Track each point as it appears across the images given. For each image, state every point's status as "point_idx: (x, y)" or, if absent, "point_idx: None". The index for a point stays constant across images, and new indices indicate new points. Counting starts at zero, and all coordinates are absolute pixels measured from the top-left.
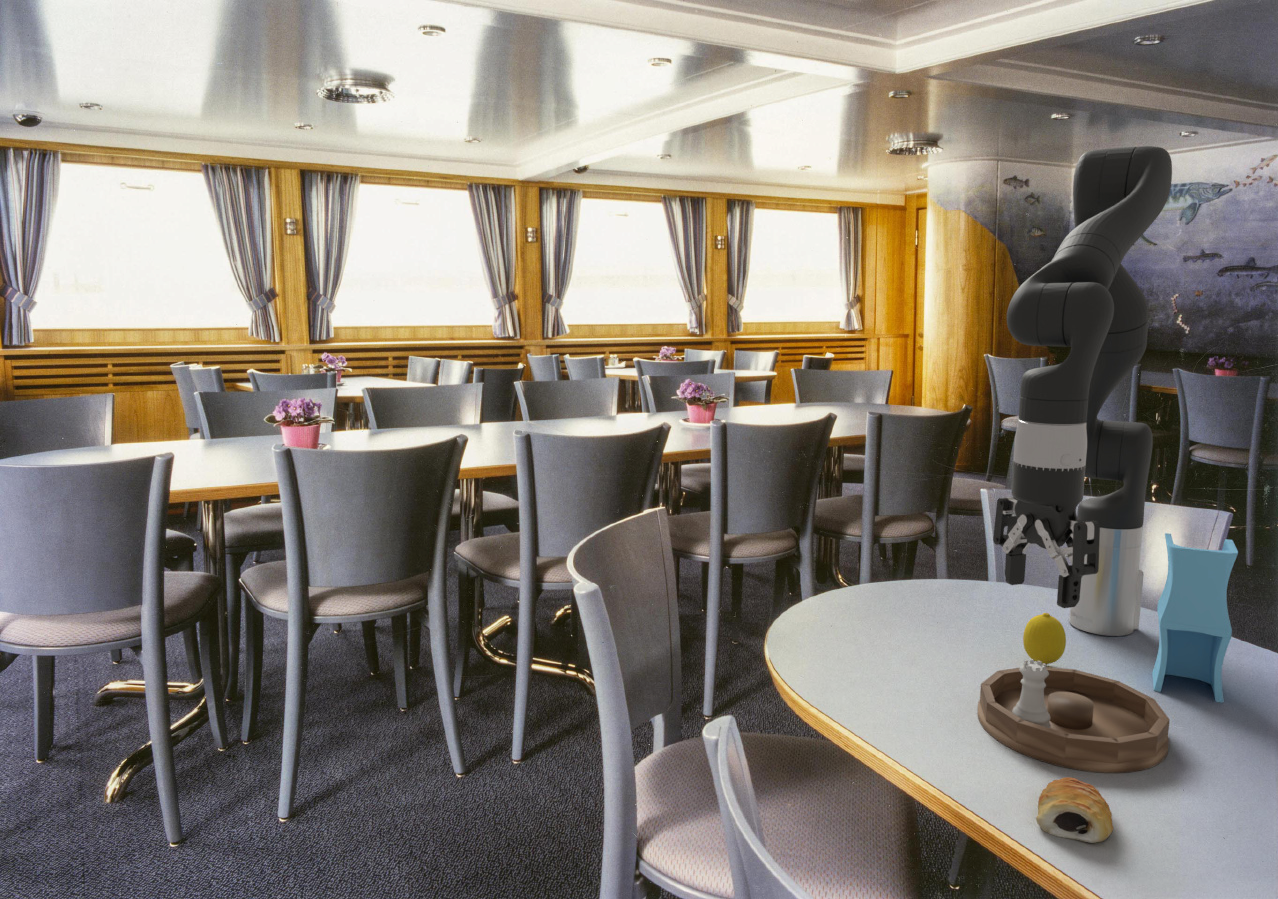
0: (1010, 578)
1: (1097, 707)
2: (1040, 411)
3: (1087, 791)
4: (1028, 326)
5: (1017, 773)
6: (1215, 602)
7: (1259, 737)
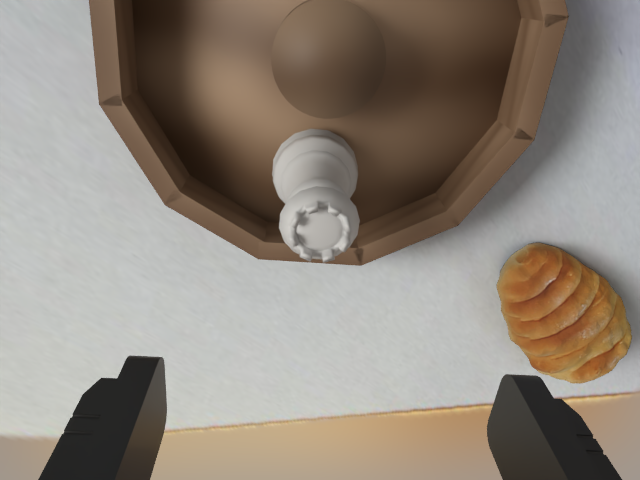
0: (159, 446)
1: None
2: None
3: (583, 314)
4: None
5: (416, 288)
6: None
7: None
